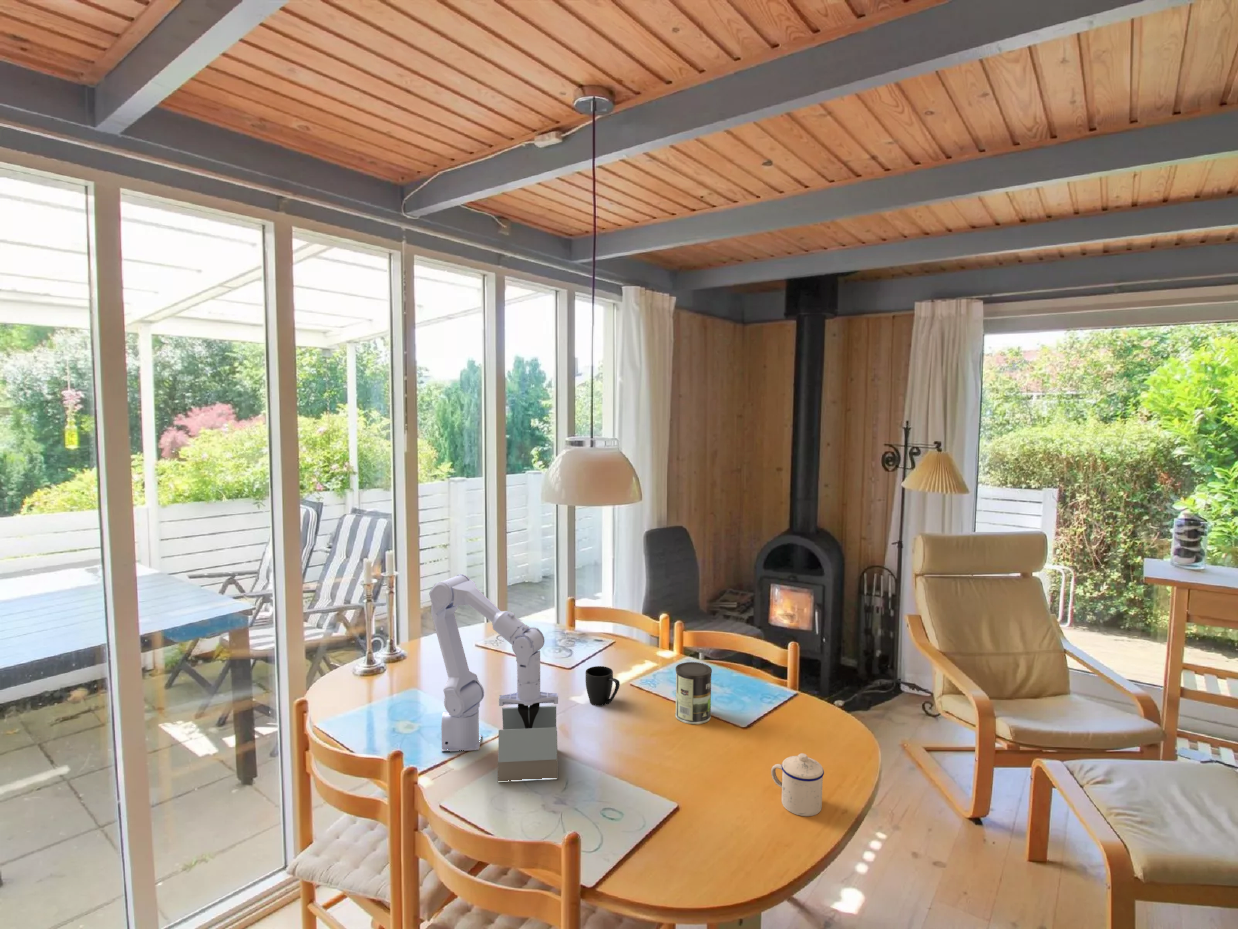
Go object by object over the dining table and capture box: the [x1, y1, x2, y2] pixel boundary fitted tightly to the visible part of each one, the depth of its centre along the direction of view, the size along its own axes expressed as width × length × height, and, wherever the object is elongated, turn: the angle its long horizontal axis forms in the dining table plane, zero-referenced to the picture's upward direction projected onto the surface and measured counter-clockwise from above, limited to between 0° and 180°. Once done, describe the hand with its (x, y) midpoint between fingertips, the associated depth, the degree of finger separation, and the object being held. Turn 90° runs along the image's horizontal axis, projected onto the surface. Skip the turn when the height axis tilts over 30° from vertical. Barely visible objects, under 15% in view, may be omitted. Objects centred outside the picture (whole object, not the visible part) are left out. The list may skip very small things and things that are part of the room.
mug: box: [585, 665, 621, 707], centre depth 195 cm, size 8×12×10 cm
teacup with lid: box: [770, 752, 825, 817], centre depth 146 cm, size 12×9×12 cm
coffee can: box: [674, 661, 713, 725], centre depth 187 cm, size 10×10×14 cm
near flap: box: [497, 726, 558, 763], centre depth 154 cm, size 14×7×1 cm
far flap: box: [501, 705, 557, 730], centre depth 167 cm, size 14×7×1 cm
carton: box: [497, 753, 559, 782], centre depth 161 cm, size 14×14×5 cm
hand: (528, 731), depth 163 cm, fingers closed
